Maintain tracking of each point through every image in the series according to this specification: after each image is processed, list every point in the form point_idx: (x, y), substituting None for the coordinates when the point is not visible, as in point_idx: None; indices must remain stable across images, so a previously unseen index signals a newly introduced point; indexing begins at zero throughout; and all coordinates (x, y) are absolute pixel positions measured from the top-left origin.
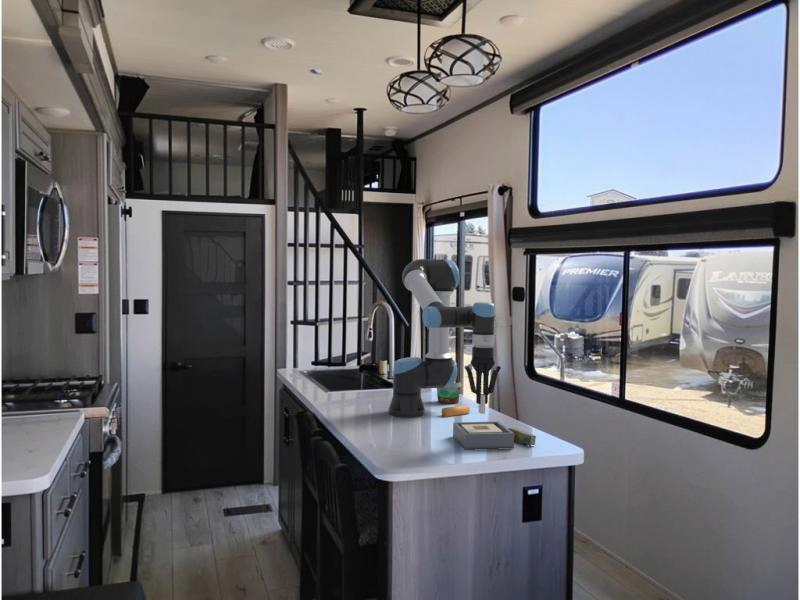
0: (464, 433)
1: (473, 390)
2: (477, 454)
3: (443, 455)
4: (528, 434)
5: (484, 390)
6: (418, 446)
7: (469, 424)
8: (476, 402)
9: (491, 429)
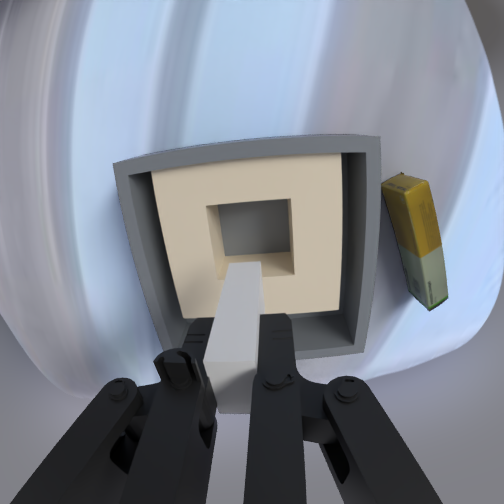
0: (163, 348)
1: (133, 442)
2: None
3: (125, 351)
4: (432, 293)
5: (267, 410)
6: (54, 271)
7: (198, 171)
8: (194, 322)
9: (297, 276)
